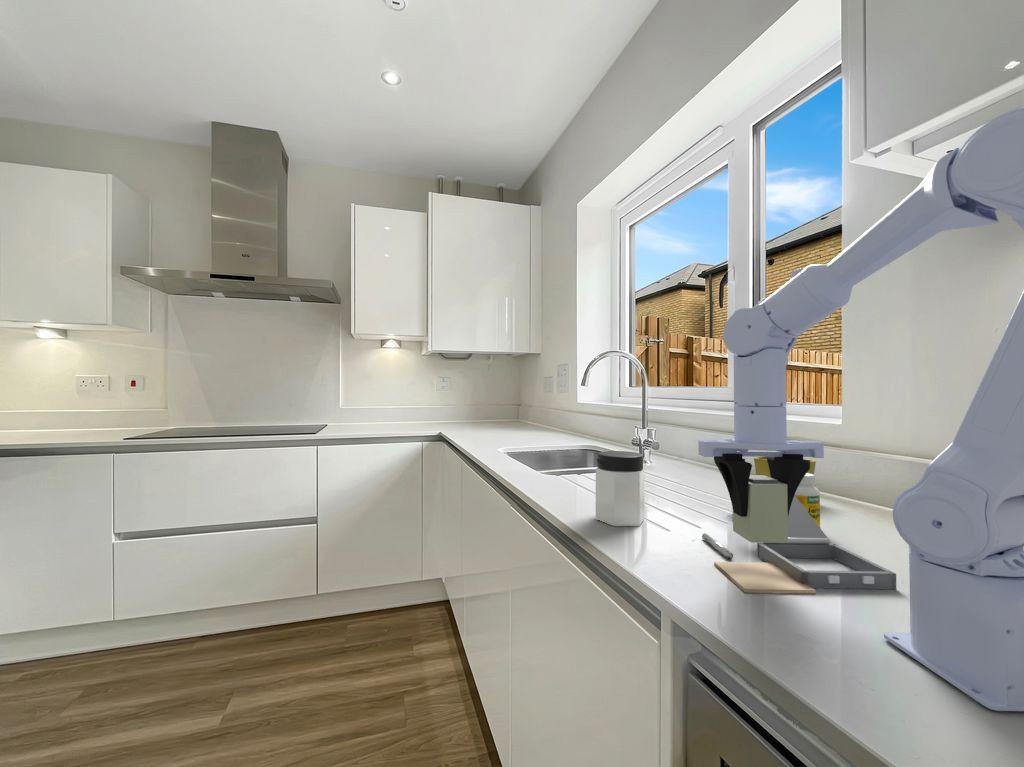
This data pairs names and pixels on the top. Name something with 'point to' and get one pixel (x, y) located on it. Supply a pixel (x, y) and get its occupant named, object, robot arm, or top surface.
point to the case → (862, 578)
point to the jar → (620, 488)
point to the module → (764, 512)
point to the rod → (717, 546)
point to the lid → (803, 526)
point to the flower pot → (763, 467)
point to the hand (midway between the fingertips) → (760, 514)
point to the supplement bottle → (809, 497)
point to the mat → (762, 578)
